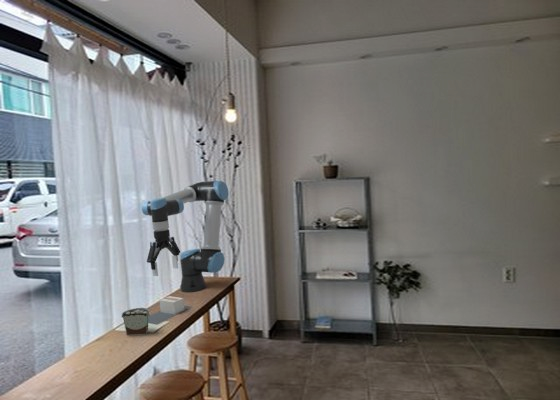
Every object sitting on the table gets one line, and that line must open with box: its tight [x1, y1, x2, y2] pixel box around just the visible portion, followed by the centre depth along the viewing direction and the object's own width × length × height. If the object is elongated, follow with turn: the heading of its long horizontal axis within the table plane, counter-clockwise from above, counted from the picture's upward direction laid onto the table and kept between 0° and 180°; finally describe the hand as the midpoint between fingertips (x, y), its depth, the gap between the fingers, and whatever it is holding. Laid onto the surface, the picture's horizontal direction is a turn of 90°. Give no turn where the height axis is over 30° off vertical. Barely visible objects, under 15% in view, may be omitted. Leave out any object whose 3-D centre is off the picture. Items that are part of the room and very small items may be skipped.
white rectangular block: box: [159, 295, 185, 314], centre depth 196 cm, size 10×6×6 cm, turn 60°
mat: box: [148, 305, 193, 325], centre depth 193 cm, size 24×13×1 cm, turn 150°
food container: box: [121, 307, 151, 336], centre depth 173 cm, size 12×6×10 cm, turn 84°
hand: (165, 271), depth 194 cm, fingers open, 13 cm apart
